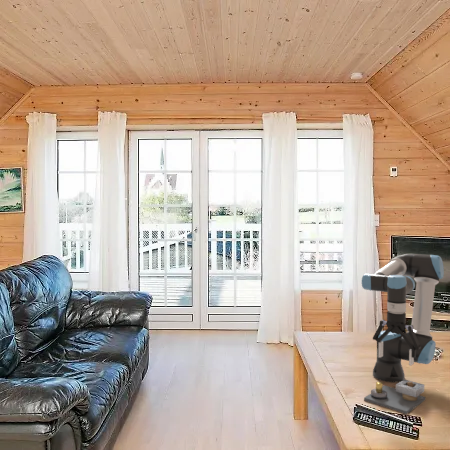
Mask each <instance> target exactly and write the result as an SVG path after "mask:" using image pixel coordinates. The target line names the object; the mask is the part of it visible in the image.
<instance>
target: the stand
mask: <svg viewBox="0 0 450 450" xmlns="http://www.w3.org/2000/svg"><path fill="white" fill-rule="evenodd" d="M413 382H414V381H413ZM413 382H407V386H410V387H413ZM403 398H404V399H405V400H409V401H416V400H417V397H413V396H410V395H406V394H403Z"/></svg>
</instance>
